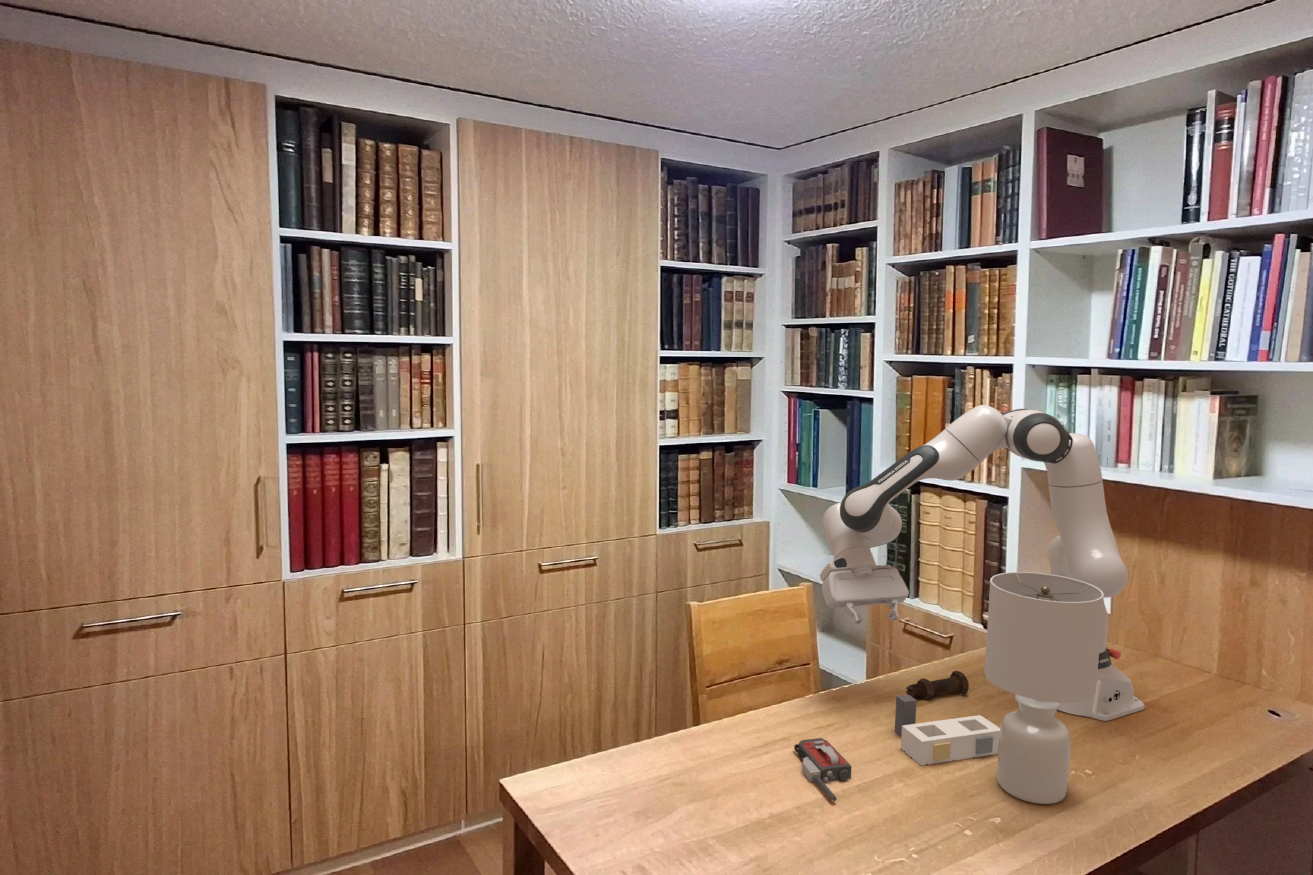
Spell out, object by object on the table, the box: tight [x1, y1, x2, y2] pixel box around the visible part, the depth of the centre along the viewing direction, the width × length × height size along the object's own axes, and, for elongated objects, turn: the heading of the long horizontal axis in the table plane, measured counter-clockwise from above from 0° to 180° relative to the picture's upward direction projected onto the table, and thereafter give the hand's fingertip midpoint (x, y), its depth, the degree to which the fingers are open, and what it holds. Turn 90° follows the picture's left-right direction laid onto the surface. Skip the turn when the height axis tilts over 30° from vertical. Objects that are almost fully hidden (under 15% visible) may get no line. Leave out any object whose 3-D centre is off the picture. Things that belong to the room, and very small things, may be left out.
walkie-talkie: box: [793, 737, 852, 802], centre depth 157 cm, size 9×4×20 cm
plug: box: [894, 694, 918, 737], centre depth 173 cm, size 3×3×8 cm
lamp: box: [983, 571, 1104, 805], centre depth 151 cm, size 19×19×39 cm
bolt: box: [905, 670, 970, 701], centre depth 193 cm, size 6×5×15 cm
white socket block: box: [900, 714, 1000, 766], centre depth 166 cm, size 19×8×5 cm, turn 106°
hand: (876, 620), depth 183 cm, fingers open, 8 cm apart
